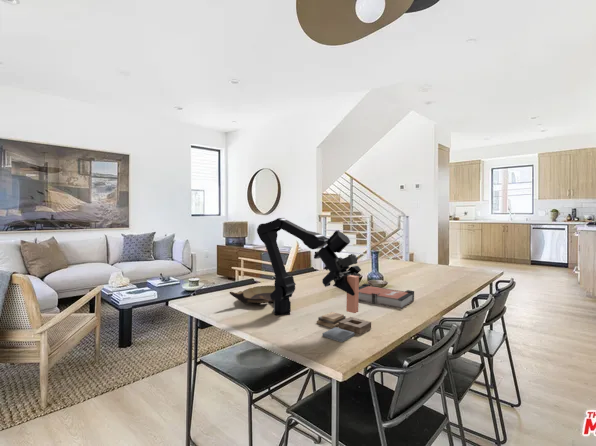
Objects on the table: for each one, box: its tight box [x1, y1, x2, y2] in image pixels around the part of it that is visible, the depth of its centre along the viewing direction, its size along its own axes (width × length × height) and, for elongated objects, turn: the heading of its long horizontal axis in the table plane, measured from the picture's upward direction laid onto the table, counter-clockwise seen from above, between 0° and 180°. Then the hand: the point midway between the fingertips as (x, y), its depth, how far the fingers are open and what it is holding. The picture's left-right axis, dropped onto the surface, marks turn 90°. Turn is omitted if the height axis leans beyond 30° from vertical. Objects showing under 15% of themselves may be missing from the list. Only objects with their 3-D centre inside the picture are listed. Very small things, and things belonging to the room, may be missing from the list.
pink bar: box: [345, 275, 360, 314], centre depth 121 cm, size 4×2×13 cm
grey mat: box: [322, 327, 355, 343], centre depth 115 cm, size 8×8×1 cm
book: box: [359, 283, 415, 309], centre depth 162 cm, size 26×18×5 cm
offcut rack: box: [316, 311, 372, 335], centre depth 126 cm, size 19×10×3 cm, turn 49°
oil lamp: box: [229, 285, 275, 304], centre depth 158 cm, size 22×30×8 cm
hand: (355, 294), depth 120 cm, fingers closed on pink bar, 2 cm apart
